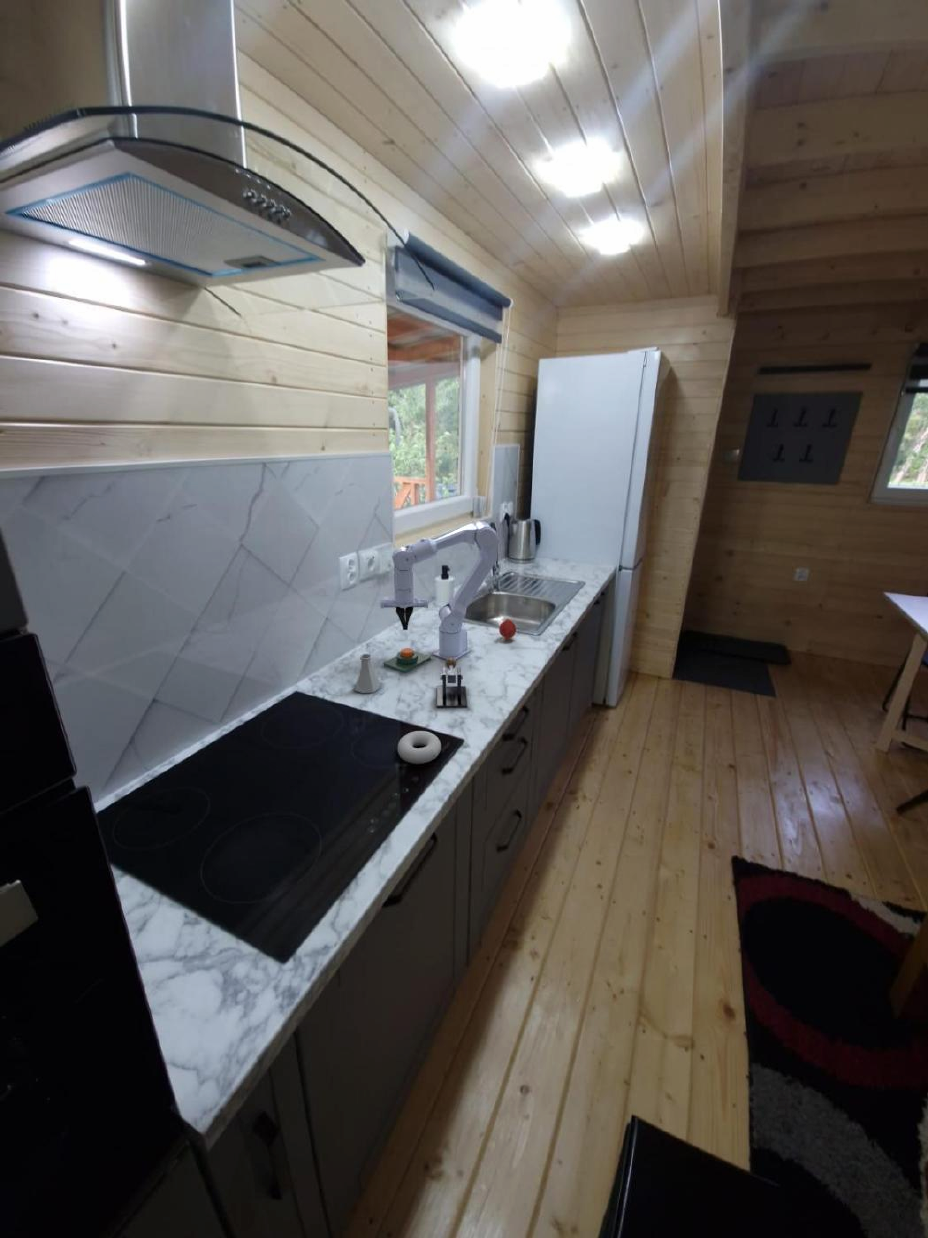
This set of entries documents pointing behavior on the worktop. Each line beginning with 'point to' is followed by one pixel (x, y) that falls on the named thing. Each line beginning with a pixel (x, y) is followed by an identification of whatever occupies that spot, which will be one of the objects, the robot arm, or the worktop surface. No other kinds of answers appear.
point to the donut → (419, 754)
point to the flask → (367, 676)
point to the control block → (406, 662)
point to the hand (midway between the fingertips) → (405, 628)
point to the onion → (507, 629)
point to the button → (406, 652)
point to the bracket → (451, 692)
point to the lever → (451, 670)
